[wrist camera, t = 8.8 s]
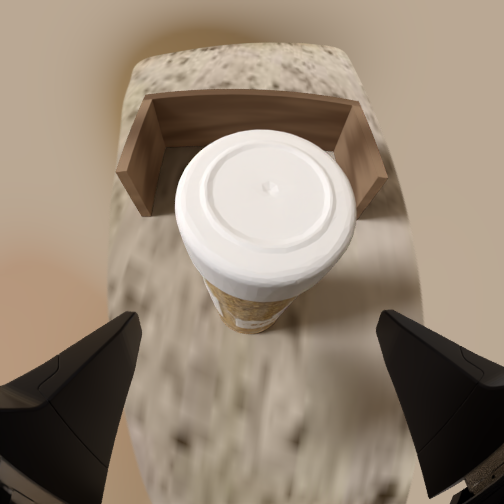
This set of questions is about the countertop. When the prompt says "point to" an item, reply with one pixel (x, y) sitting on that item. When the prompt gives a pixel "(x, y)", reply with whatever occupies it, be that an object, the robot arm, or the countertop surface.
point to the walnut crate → (243, 119)
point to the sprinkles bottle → (263, 222)
